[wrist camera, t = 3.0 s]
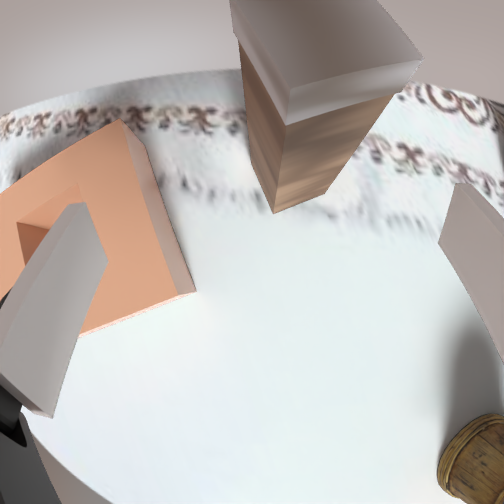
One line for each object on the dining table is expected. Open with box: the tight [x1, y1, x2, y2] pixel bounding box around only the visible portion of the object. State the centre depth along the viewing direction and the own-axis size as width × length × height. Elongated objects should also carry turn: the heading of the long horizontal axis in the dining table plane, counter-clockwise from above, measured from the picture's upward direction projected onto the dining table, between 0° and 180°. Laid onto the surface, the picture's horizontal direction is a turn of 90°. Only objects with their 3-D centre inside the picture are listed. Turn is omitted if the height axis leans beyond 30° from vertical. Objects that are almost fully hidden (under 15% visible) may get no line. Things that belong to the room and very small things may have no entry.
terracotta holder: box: [0, 118, 197, 338], centre depth 21 cm, size 14×12×5 cm
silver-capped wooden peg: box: [230, 0, 424, 214], centre depth 15 cm, size 4×4×16 cm
